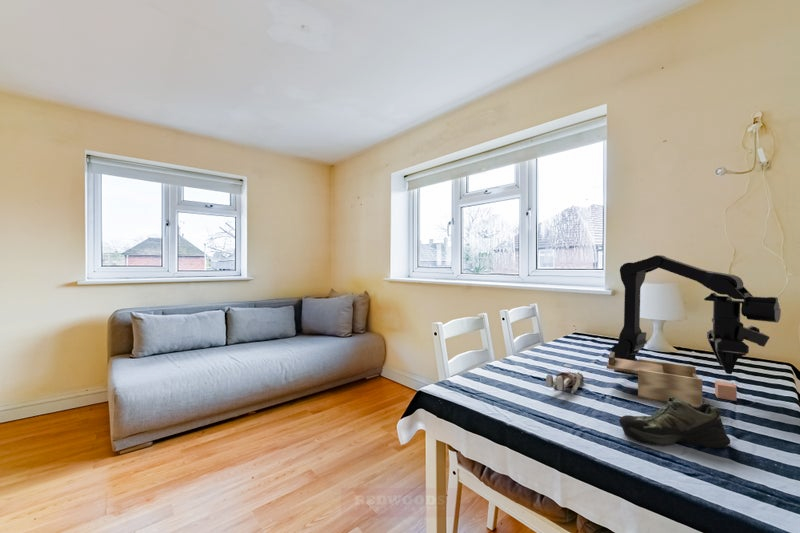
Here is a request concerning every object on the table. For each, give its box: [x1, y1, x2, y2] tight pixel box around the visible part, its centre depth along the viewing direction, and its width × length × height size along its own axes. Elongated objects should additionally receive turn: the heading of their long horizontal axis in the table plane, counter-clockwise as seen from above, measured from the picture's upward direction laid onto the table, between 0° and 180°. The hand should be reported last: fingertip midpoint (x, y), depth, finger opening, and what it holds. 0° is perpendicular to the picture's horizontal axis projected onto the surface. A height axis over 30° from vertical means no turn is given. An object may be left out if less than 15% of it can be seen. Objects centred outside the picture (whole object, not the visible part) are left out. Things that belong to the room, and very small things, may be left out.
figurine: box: [545, 371, 585, 395], centre depth 104 cm, size 6×6×20 cm
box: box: [637, 358, 703, 407], centre depth 99 cm, size 14×14×8 cm
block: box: [714, 380, 738, 402], centre depth 98 cm, size 4×4×4 cm
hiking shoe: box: [618, 397, 731, 449], centre depth 75 cm, size 8×21×9 cm, turn 84°
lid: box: [606, 351, 664, 375], centre depth 103 cm, size 14×12×3 cm
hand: (725, 369), depth 98 cm, fingers open, 9 cm apart
